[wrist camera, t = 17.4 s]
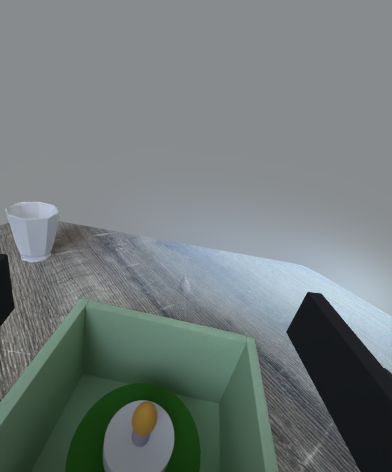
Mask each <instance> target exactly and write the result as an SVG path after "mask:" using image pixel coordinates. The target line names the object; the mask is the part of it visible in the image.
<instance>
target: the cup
mask: <svg viewBox="0 0 392 472" xmlns="http://www.w3.org/2000/svg"><path fill="white" fill-rule="evenodd" d="M5 210H6V214H7V217H8V220H9V224H10V227H11V230H12V233H13V237H14V240H15V243H16V245H17V248H18V250H19V252H20V255H21V259H22V260H24V261H27V262H31V263H34V262H40V261H45V260H46V259H48V258H49V257H50V256H51V252H50V251H51V250H52V248H53V244H54V241H55V237H56V230H57V224H58V219H59V211H58V209H57V208H56V206H54V205H50V204H46V203H42V202H19V203H16V204H13V205H10V206H8V207H5Z"/></svg>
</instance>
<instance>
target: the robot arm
mask: <svg viewBox="0 0 392 472" xmlns="http://www.w3.org/2000/svg"><path fill="white" fill-rule="evenodd" d="M13 309H14V301H13V294H12V286H11V278H10V270H9V263H8V255H5V254H0V326H1V325H2V324H3V322H4V321H5V320H6V319H7V317H8V316H9V315H10V313H11V312H12V311H13ZM287 334H288V336H289V338H290V340H291V342H292V344H293V346H294V347H295V349H296V351H297V353H298V355H299V357H300V359H301V361H302V362H303V364H304V366H305V368H306V370H307V372H308V374H309V376H310V377H311V379H312V381H313V383H314V385H315V387H316V389H317V391H318V392H319V394H320V396H321V398H322V400H323V402H324V404H325V406H326V408H327V409H328V411H329V413H330V415H331V417H332V419H333V421H334V423H335V424H336V426H337V428H338V430H339V432H340V434H341V436H342V438H343V439H344V441H345V443H346V445H347V447H348V449H349V451H350V453H351V454H352V456H353V458H354V460H355V462H356V464H357V466H358V468H359V470H360V471H361V472H392V374H391V373H390V372H389V371H388V370H387V369H386V368H383V367H382V366H381V364H380V363H379V362H378V361H377V360H376V358H375V357H374V356H373V355H372V354H371V352H370V351H369V350H368V349H367V348H366V346H365V345H364V344H363V343H362V342H361V340H360V339H359V338H358V337H357V336H356V334H355V333H354V332H353V331H352V330H351V328H350V327H349V326H348V325H347V324H346V322H345V321H344V320H343V319H342V318H341V316H340V315H339V314H338V313H337V312H336V311H335V309H334V308H333V307H332V306H331V305H330V303H329V302H328V301H327V300H326V299H325V297H324V296H323V295H322V294H320V293H312V292H308V293H307V294H306V296H305V298H304V300H303V302H302V304H301V306H300V307H299V309H298V311H297V313H296V315H295V317H294V319H293V320H292V322H291V324H290V326H289V328H288V330H287Z"/></svg>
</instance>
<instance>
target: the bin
mask: <svg viewBox="0 0 392 472" xmlns="http://www.w3.org/2000/svg"><path fill="white" fill-rule="evenodd" d="M135 383H149V384H154V385H158V386H160V387H163V388H165V389H167V390H169V391H170V392H172V393H173V394H175V395H176V396H177V397H178V398H179V399H180V400H181V401H182V402H183V403H184V405H185V406H186V407H187V409H188V410H189V412H190V414H191V416H192V418H193V420H194V422H195V424H196V428H197V432H198V435H199V441H200V450H201V456H200V470H199V472H279V470H278V465H277V459H276V453H275V448H274V442H273V437H272V431H271V426H270V420H269V415H268V409H267V404H266V398H265V393H264V387H263V382H262V376H261V371H260V365H259V360H258V354H257V348H256V343H255V338H254V337H251V336H246V335H242V334H237V333H233V332H229V331H224V330H220V329H215V328H211V327H207V326H202V325H198V324H193V323H189V322H185V321H180V320H176V319H171V318H167V317H163V316H158V315H154V314H149V313H145V312H141V311H136V310H132V309H127V308H123V307H119V306H114V305H110V304H105V303H101V302H97V301H92V300H88V299H84V298H80V299H79V301H78V302H77V303H76V304H75V306H74V307H73V308H72V310H71V311H70V312H69V314H68V315H67V316H66V318H65V319H64V320H63V321H62V323H61V324H60V325H59V327H58V328H57V329H56V331H55V332H54V333H53V334H52V336H51V337H50V338H49V340H48V341H47V342H46V344H45V345H44V346H43V348H42V349H41V350H40V351H39V353H38V354H37V355H36V357H35V358H34V359H33V361H32V362H31V363H30V364H29V366H28V367H27V368H26V370H25V371H24V372H23V374H22V375H21V376H20V378H19V379H18V380H17V381H16V383H15V384H14V385H13V387H12V388H11V389H10V391H9V392H8V393H7V394H6V396H5V397H4V398H3V400H2V401H1V402H0V472H65V469H66V459H67V455H68V451H69V447H70V444H71V441H72V438H73V436H74V434H75V432H76V429H77V427H78V425H79V424H80V422H81V421H82V419H83V418H84V416H85V415H86V413H87V412H88V411H89V410H90V409H91V408H92V406H93V405H94V404H95V403H96V402H97V401H99V400H100V399H101V398H102V397H104V396H105V395H106V394H108V393H110V392H111V391H113V390H115V389H117V388H120V387H122V386H125V385H129V384H135Z"/></svg>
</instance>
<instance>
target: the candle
mask: <svg viewBox="0 0 392 472" xmlns="http://www.w3.org/2000/svg"><path fill="white" fill-rule="evenodd" d="M200 456H201V450H200V441H199V435H198V432H197V428H196V424H195V422H194V420H193V418H192V416H191V414H190V412H189V410H188V409H187V407H186V406H185V405H184V403H183V402H182V401H181V400H180V399H179V398H178V397H177V396H176V395H175V394H173V393H172V392H170V391H169V390H167V389H165V388H163V387H160V386H158V385H154V384H149V383H135V384H129V385H125V386H122V387H120V388H117V389H115V390H113V391H111V392H110V393H108V394H106V395H105V396H104V397H102V398H101V399H100V400H99V401H97V402H96V403H95V404H94V405H93V406H92V408H91V409H90V410H89V411H88V412H87V413H86V415H85V416H84V418H83V419H82V421H81V422H80V424H79V425H78V427H77V429H76V432H75V434H74V436H73V438H72V441H71V444H70V447H69V451H68V455H67V459H66V469H65V472H199V470H200Z"/></svg>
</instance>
